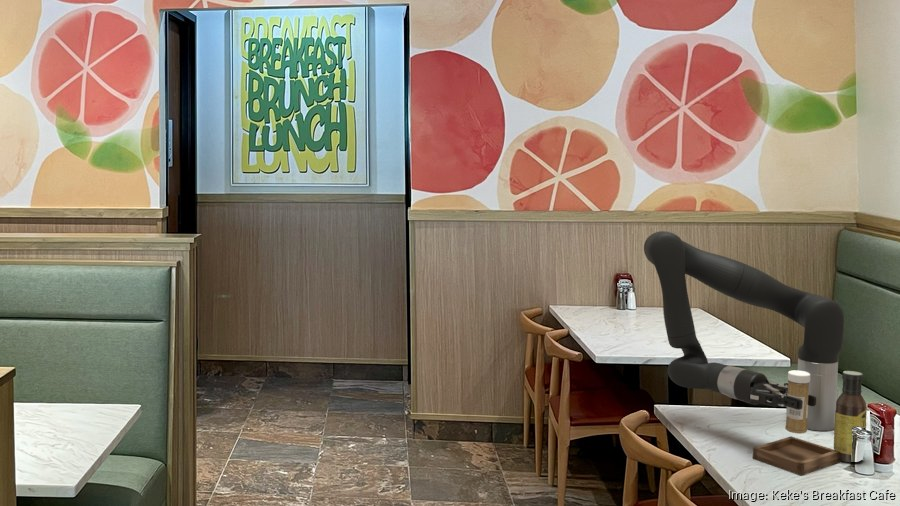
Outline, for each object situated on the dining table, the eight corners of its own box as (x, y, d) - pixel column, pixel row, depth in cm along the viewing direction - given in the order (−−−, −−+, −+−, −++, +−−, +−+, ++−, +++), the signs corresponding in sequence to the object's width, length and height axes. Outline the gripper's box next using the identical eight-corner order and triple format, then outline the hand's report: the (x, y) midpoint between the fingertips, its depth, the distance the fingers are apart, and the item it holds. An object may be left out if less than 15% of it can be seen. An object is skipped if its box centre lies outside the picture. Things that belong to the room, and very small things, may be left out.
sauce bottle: (866, 465, 170) (871, 377, 168) (835, 462, 172) (840, 375, 170) (860, 455, 176) (865, 370, 174) (830, 452, 178) (834, 368, 176)
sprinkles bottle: (811, 431, 172) (814, 373, 170) (799, 435, 170) (802, 376, 168) (792, 425, 176) (795, 368, 174) (780, 429, 173) (783, 371, 172)
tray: (790, 446, 182) (791, 436, 182) (839, 462, 172) (839, 451, 172) (752, 458, 175) (753, 447, 174) (801, 475, 165) (801, 464, 164)
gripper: (723, 373, 180) (789, 391, 165) (762, 365, 187) (828, 382, 173) (721, 404, 181) (787, 425, 166) (760, 395, 188) (826, 414, 174)
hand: (808, 403), depth 170 cm, fingers closed on sprinkles bottle, 4 cm apart
